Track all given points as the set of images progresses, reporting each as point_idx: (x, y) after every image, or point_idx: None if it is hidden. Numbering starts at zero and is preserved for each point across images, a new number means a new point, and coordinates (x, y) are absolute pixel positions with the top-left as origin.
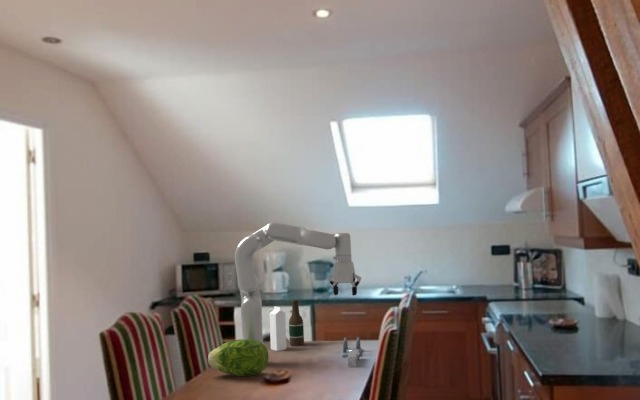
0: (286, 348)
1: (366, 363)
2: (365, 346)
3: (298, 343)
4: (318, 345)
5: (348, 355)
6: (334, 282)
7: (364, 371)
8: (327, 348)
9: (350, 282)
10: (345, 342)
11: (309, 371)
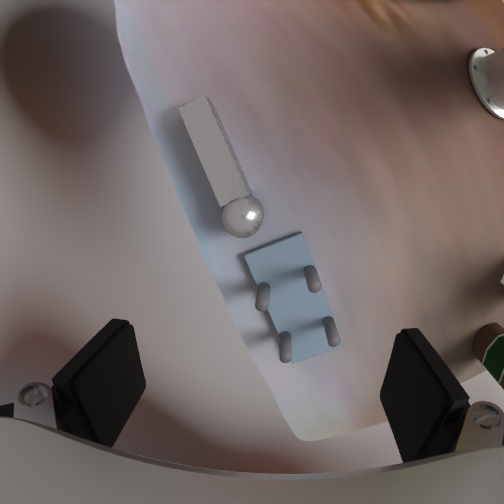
0: (501, 282)
1: (178, 173)
2: (292, 390)
3: (484, 332)
4: None
5: (212, 116)
6: (496, 446)
7: (144, 83)
8: None
9: (10, 418)
10: (307, 281)
11: (306, 23)
